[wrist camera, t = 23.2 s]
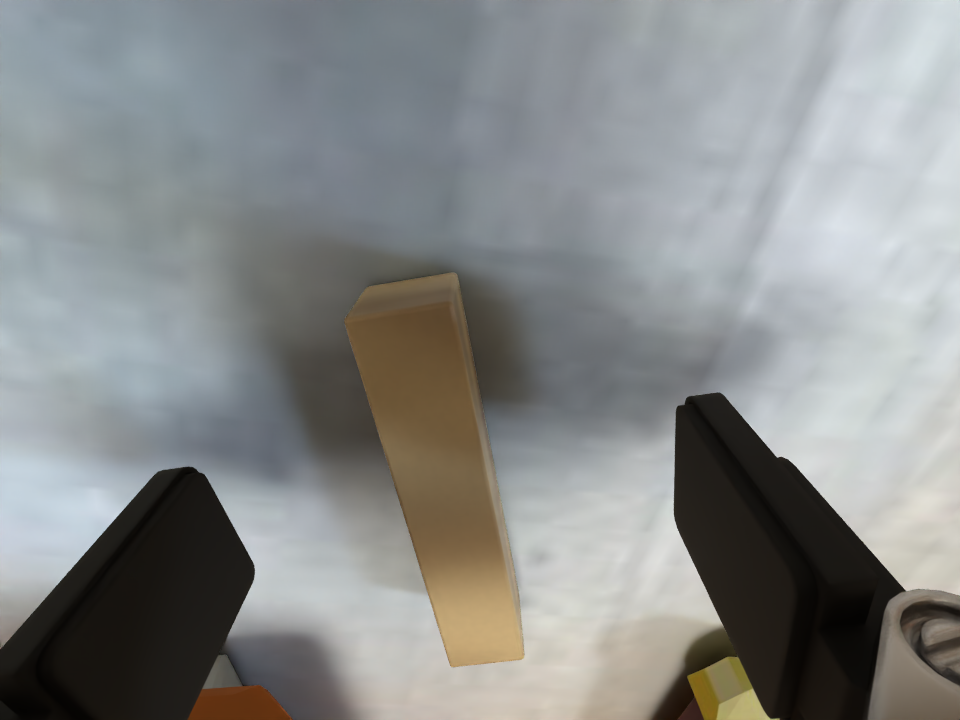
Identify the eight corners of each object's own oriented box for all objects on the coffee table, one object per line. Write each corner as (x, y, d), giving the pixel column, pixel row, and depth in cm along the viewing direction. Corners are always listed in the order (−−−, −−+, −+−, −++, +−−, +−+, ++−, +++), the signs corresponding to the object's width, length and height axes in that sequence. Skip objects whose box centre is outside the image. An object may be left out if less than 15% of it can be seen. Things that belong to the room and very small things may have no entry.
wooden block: (365, 285, 10) (341, 319, 9) (457, 270, 10) (452, 301, 8) (453, 602, 15) (450, 668, 13) (519, 594, 15) (525, 661, 13)
